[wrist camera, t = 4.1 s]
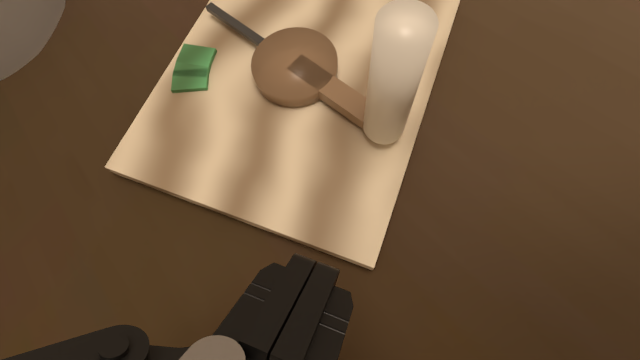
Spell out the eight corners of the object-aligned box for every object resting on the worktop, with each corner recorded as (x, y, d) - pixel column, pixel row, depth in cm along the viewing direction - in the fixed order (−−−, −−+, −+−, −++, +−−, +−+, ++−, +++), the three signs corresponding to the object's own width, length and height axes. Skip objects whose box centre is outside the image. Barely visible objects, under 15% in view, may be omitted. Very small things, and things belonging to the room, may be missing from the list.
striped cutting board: (457, 5, 33) (464, -13, 31) (372, 270, 25) (374, 267, 23) (248, -42, 37) (243, -60, 35) (116, 174, 29) (101, 165, 27)
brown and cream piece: (425, 110, 27) (474, -8, 17) (369, 175, 25) (386, 87, 15) (238, -11, 33) (193, -152, 23) (183, 36, 31) (108, -94, 21)
